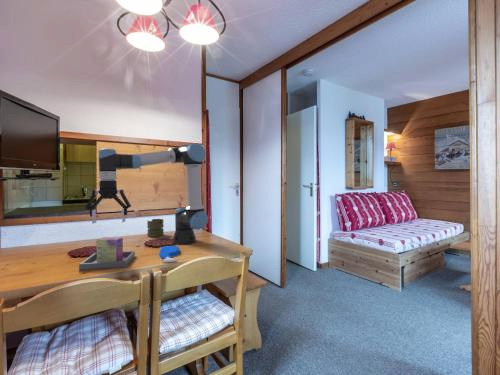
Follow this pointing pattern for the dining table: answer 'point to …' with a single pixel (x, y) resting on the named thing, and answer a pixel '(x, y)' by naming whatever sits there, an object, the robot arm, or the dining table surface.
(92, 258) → the tray
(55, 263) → the dining table surface
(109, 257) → the box
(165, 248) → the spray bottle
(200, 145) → the robot arm
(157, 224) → the dark green block
